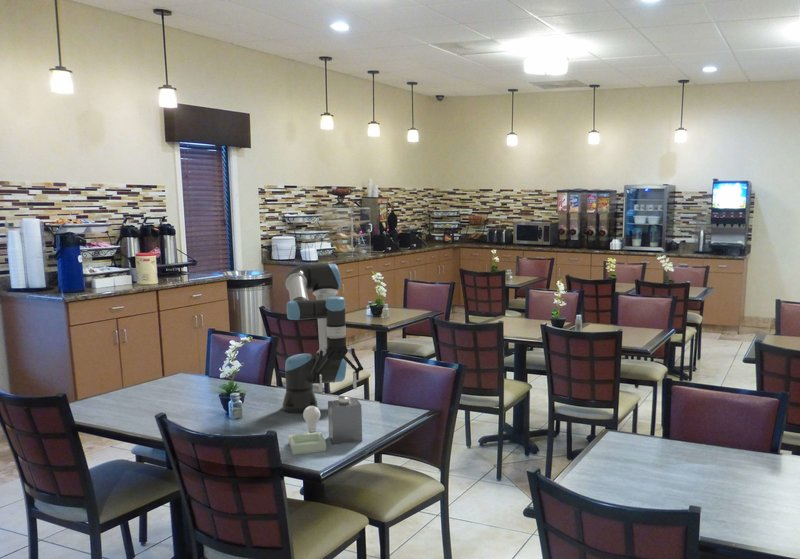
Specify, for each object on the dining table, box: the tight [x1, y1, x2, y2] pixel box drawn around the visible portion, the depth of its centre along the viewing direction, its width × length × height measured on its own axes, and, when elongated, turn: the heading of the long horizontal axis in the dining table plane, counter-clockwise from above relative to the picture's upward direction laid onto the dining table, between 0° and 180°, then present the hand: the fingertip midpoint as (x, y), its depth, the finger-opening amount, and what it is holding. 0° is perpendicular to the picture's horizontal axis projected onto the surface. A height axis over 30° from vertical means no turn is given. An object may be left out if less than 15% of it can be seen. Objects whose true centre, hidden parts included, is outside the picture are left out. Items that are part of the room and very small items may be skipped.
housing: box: [327, 395, 363, 446], centre depth 258 cm, size 9×11×16 cm
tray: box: [288, 431, 327, 455], centre depth 250 cm, size 12×12×3 cm
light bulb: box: [302, 406, 321, 433], centre depth 264 cm, size 7×7×11 cm
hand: (337, 390), depth 269 cm, fingers open, 13 cm apart
